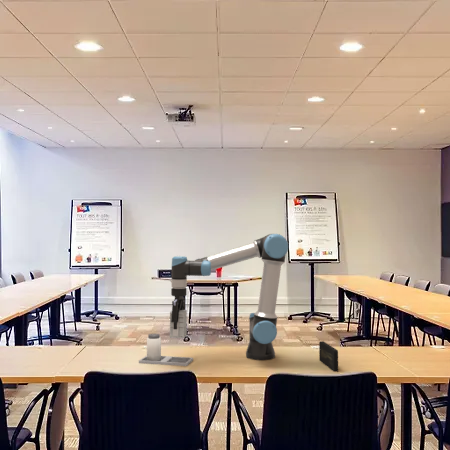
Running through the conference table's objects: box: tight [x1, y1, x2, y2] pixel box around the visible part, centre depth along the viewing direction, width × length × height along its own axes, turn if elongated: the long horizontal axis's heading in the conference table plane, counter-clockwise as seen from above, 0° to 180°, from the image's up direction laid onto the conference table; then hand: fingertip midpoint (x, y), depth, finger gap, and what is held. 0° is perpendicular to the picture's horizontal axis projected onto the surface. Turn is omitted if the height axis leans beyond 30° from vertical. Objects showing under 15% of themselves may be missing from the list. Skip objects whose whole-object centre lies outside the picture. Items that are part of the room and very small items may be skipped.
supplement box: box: [169, 309, 188, 339], centre depth 251 cm, size 7×7×13 cm
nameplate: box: [318, 340, 339, 372], centre depth 249 cm, size 21×2×10 cm, turn 9°
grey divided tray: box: [138, 355, 194, 367], centre depth 252 cm, size 24×11×2 cm, turn 77°
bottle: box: [146, 333, 162, 361], centre depth 254 cm, size 7×7×13 cm
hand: (178, 333), depth 251 cm, fingers closed on supplement box, 8 cm apart
